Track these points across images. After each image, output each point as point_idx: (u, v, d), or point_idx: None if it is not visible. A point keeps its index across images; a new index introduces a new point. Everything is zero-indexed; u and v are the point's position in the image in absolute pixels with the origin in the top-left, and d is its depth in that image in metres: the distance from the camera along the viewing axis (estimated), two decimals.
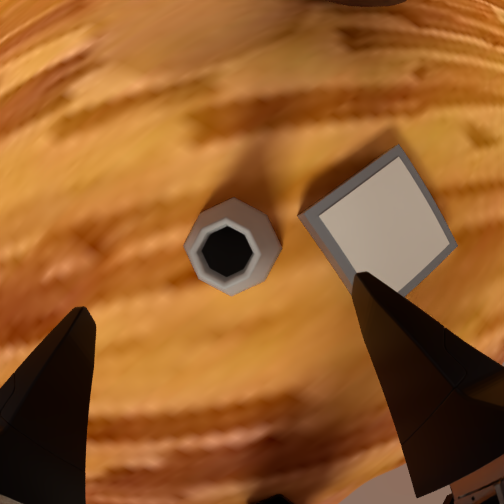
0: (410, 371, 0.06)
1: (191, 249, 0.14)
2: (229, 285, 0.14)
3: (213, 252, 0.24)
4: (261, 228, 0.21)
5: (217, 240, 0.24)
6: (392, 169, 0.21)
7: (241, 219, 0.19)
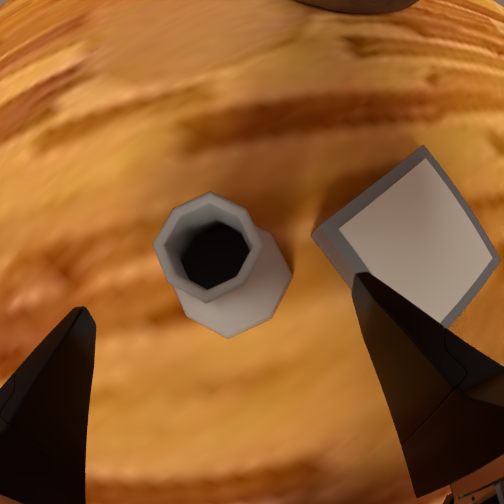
0: (410, 371, 0.06)
1: (157, 239, 0.09)
2: (213, 295, 0.09)
3: (205, 282, 0.19)
4: (265, 243, 0.16)
5: (210, 267, 0.19)
6: (420, 172, 0.17)
7: None
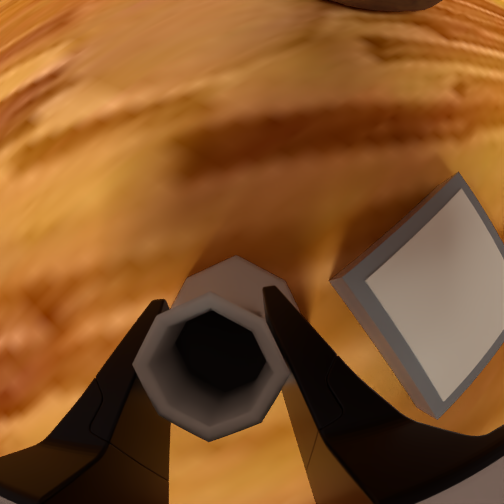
0: (294, 399, 0.06)
1: (137, 359, 0.06)
2: (219, 435, 0.06)
3: (206, 336, 0.16)
4: None
5: (212, 318, 0.16)
6: (456, 206, 0.14)
7: (246, 291, 0.11)
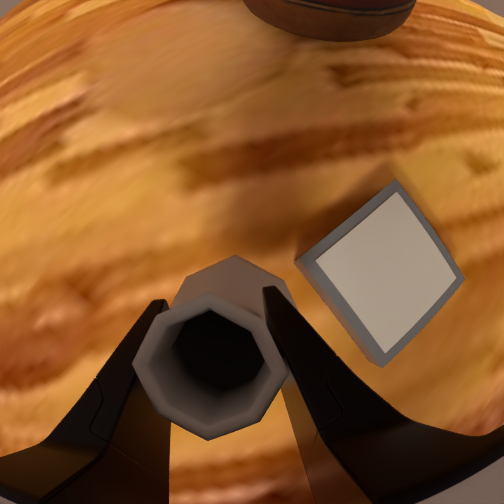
0: (294, 399, 0.06)
1: (137, 358, 0.06)
2: (218, 434, 0.06)
3: (205, 335, 0.16)
4: None
5: (211, 318, 0.16)
6: (391, 205, 0.21)
7: (245, 291, 0.11)
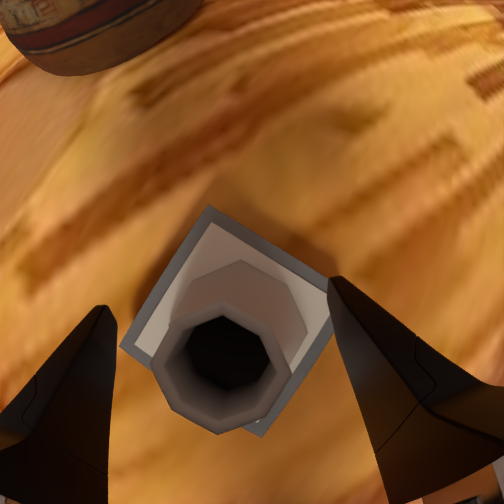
0: (379, 380, 0.06)
1: (154, 359, 0.07)
2: (227, 428, 0.06)
3: (210, 336, 0.16)
4: (281, 308, 0.14)
5: (216, 320, 0.17)
6: (207, 244, 0.17)
7: (251, 296, 0.12)
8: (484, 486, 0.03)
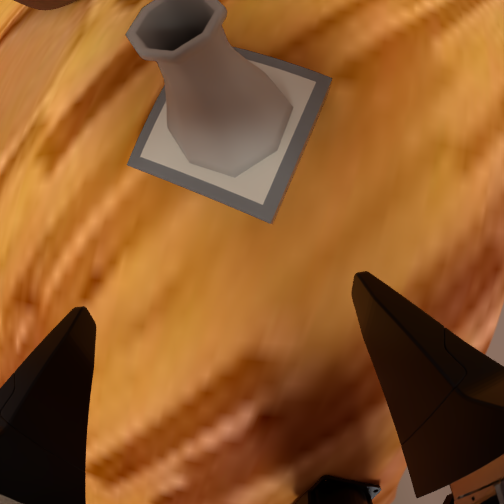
0: (410, 371, 0.06)
1: (128, 30, 0.07)
2: (179, 50, 0.07)
3: None
4: (254, 66, 0.14)
5: None
6: None
7: None
8: None
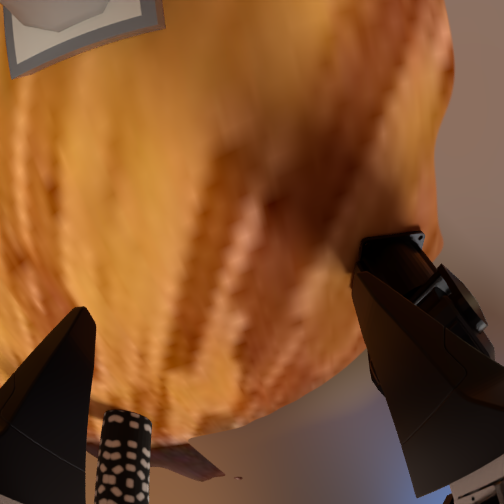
0: (410, 371, 0.06)
1: None
2: None
3: None
4: None
5: None
6: None
7: None
8: None
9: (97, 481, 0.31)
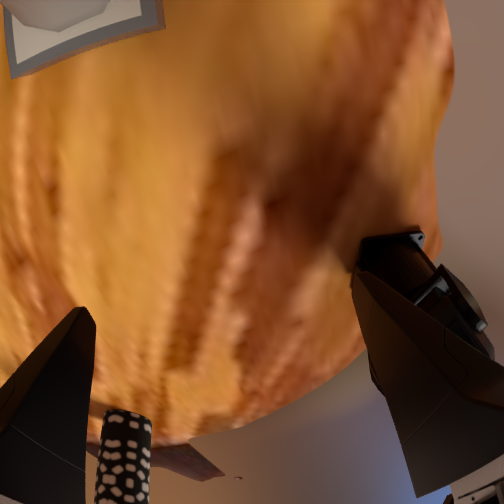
0: (410, 371, 0.06)
1: None
2: None
3: None
4: None
5: None
6: None
7: None
8: None
9: (97, 481, 0.31)
